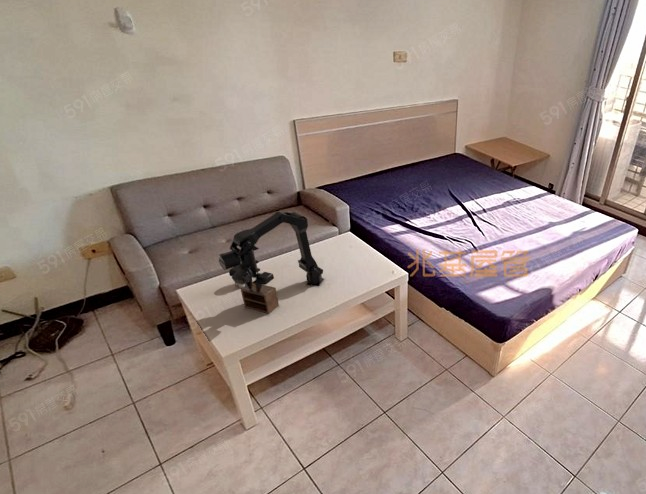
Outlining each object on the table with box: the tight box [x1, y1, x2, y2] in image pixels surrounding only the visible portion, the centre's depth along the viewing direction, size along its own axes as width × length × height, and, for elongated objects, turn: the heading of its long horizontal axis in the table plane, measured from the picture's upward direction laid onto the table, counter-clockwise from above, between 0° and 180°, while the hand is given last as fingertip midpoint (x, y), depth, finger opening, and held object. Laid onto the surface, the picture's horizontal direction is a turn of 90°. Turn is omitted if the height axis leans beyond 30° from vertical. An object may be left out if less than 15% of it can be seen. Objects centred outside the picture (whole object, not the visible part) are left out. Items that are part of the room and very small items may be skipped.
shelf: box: [240, 281, 280, 314], centre depth 187 cm, size 14×13×7 cm
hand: (255, 290), depth 184 cm, fingers open, 4 cm apart
